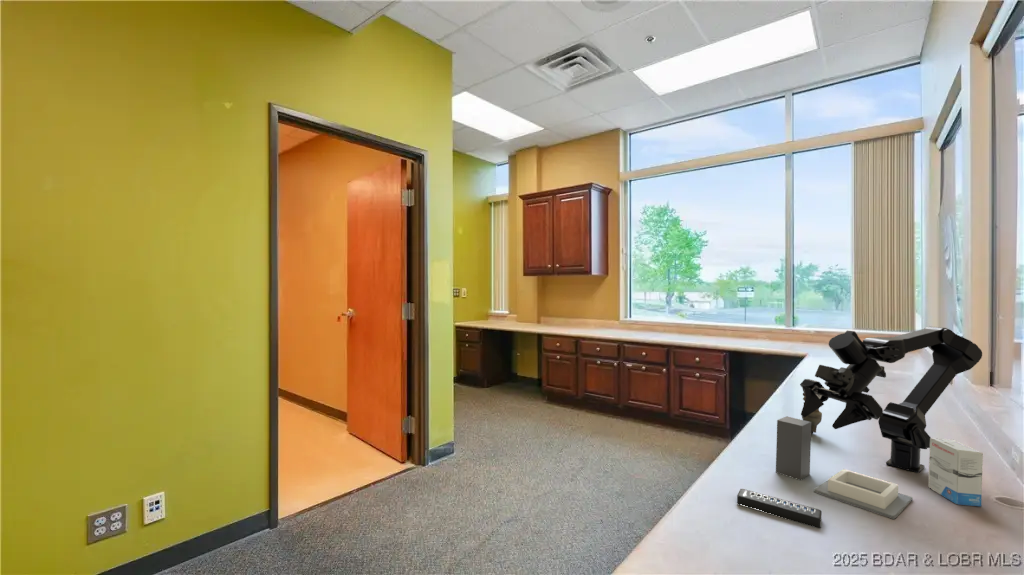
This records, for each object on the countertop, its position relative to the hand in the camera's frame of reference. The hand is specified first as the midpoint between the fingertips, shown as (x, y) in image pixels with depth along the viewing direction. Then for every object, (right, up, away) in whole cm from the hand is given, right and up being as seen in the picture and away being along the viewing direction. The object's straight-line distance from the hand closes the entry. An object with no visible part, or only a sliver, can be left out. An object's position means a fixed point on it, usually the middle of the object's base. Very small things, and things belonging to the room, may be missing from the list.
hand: (817, 421), depth 111 cm
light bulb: (+18, -13, +29) cm, 37 cm away
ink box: (+22, -13, -12) cm, 29 cm away
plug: (-7, -13, -1) cm, 14 cm away
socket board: (+2, -13, -12) cm, 18 cm away
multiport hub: (-22, -13, -20) cm, 32 cm away
